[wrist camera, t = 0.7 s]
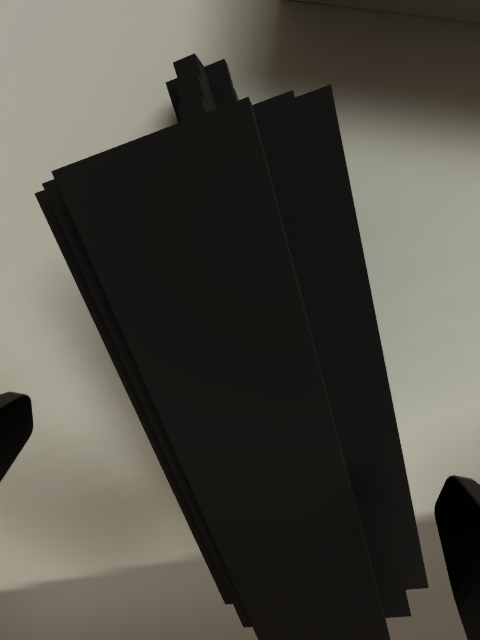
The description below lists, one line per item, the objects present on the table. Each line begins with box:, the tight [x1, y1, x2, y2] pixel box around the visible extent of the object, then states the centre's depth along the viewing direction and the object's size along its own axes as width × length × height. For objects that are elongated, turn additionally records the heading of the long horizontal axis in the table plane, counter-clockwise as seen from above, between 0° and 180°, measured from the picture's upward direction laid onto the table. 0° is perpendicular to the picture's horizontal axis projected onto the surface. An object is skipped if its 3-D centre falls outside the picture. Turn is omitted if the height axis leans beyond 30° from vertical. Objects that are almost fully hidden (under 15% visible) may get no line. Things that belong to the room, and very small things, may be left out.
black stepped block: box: [35, 54, 428, 640], centre depth 13 cm, size 7×18×10 cm, turn 17°
